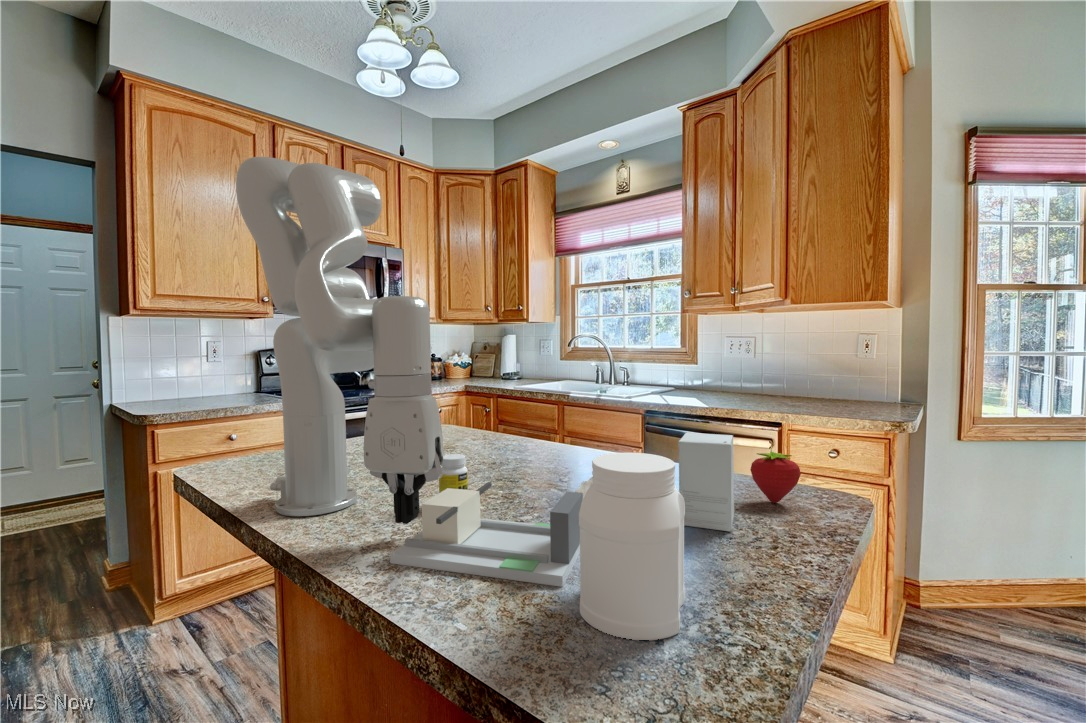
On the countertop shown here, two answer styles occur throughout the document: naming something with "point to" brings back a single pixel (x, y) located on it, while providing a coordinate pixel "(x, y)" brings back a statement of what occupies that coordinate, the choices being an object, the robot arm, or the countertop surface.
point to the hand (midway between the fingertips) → (407, 519)
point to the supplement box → (707, 480)
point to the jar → (632, 547)
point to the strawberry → (775, 475)
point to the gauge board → (506, 548)
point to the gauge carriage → (452, 515)
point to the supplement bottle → (453, 473)
